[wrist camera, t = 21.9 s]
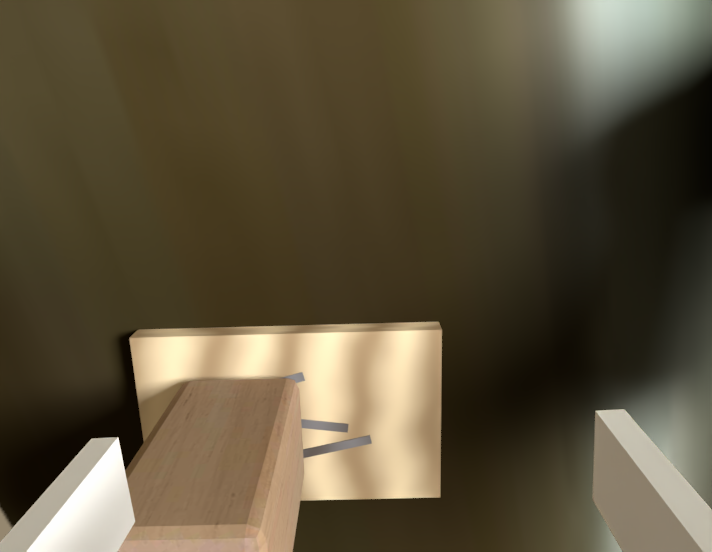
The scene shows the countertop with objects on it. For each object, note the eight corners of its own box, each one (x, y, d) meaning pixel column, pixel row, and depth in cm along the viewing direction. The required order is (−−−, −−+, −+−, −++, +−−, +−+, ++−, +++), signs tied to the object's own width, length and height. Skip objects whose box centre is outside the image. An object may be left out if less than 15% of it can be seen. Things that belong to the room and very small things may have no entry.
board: (438, 321, 50) (442, 330, 48) (437, 484, 55) (440, 498, 53) (137, 329, 51) (128, 338, 49) (159, 490, 55) (151, 504, 53)
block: (306, 477, 52) (275, 688, 33) (193, 479, 52) (96, 692, 33) (299, 373, 49) (262, 536, 30) (181, 376, 50) (68, 541, 30)
